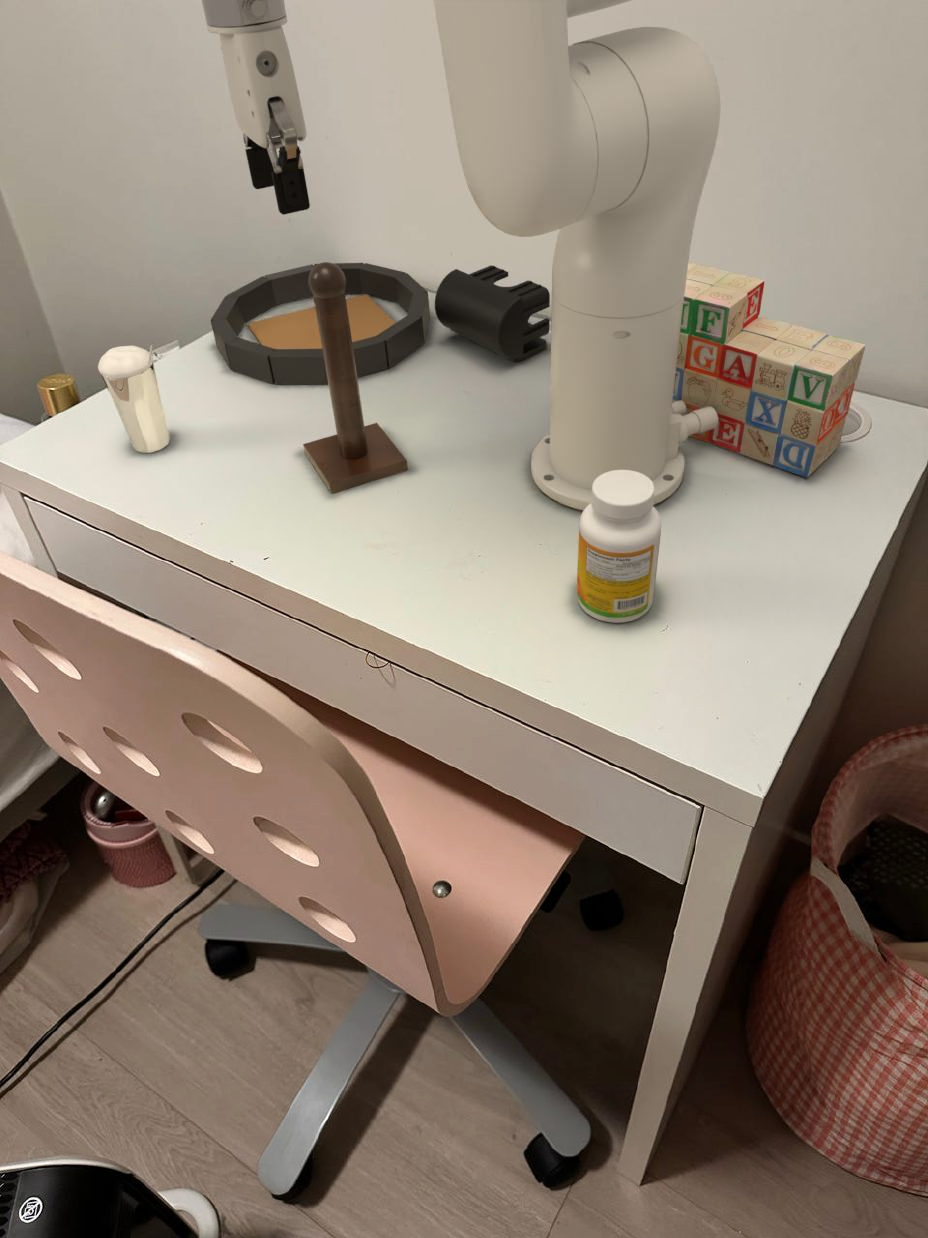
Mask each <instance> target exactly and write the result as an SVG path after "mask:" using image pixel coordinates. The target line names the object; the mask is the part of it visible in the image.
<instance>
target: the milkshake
mask: <svg viewBox="0 0 928 1238" xmlns="http://www.w3.org/2000/svg"><path fill="white" fill-rule="evenodd" d="M149 346H150V347H149V351H148V350H147V349H144V348H143V347H139V346H136V345H123V346H116V347H112V348H110V349H108V350H107V351H106V352H105V353H104V354H103V355H102V356H101V357H100V359H99V362H98V365H97V368H98V372H99V374H100V376H101V378H102V381H103V382H104V384H105V387H106V389H107V390H108V393H109V395H110V397H111V399H112V402H113V404H114V406H115V408H116V411H117V413H118V417H119V418H120V420H121V422H122V425H123V427H124V429H125V431H126V433H127V436H128V438H129V441H130V443H131V445H132V448H134V450H135V451H137V452H138V453H145V454H152V453H154V452H159V451H162V450H163V449H165V448H166V447H167V446H169V443H170V440H171V437H170V432H169V428H168V424H167V419H166V415H165V410H164V406H163V402H162V397H161V394H160V389H159V384H158V378H157V373H156V368H155V364H154V363H155V362H154V358H153V348H154V341H152V342H151V343H150V345H149Z"/></svg>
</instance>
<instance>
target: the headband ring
mask: <svg viewBox="0 0 928 1238" xmlns="http://www.w3.org/2000/svg"><path fill="white" fill-rule="evenodd" d="M332 263H333V262H332ZM318 264H319V263H314V264H313V263H311V264H307V265H304V266H299V267H294V268H292V269H286V270H281V271H278V272H274V273H273V272H272V273H269V274H265V275H262V276H260V277H257V279H255V280H253V281H251V282H249V283H247V284H245V285H243V286H242V287H239V288H238V289H236V290H234V291H232V292H230V293H228V294H226V295H225V296H224V297H223V299H222V301H220V304H219V306H218V307H217V308H216V310H215V312H214V313H213V315H212V316H211V318H210V325H211V329H212V333H213V337H214V340H215V344H216V349H217V350H218V351H219V353H220V354H221V356H222V358H223V359H224V361H225V363H226V364H227V366H228V367H229V369H230V370H231V371H232V372H235V373H238V374H241V375H243V376H247V377H250V378H253V379H255V380H258V381H262V382H265V383H268V384H271V385H276V386H277V385H279V386H280V385H328V379H327V373H326V367H325V361H324V355H323V349H274V348H271V347H267V346H264V345H261V344H260V343H259V342H258V343H257V342H254V341H251V340H248V339H244V338H242V337H239V334H240V332H241V330H242V328H243V326H244V325H245V324H246V323H247V322H249V321H251V320H252V319H254V318H256V317H258V316H259V315H261V314H263V313H265V312H266V311H268V310H270V309H272V308H274V307H276V306H278V305H281V304H286V303H290V302H295V301H299V300H302V299H307V298H312V297H313V293H312V292H311V290H310V288H309V282H308V281H309V275H310V272H311V270H312V269H313V268H314V267H315V266H316V265H318ZM333 264H335V265H337V266H338V267H339V268H340V269H341V270H342V271H343V273H344V275H345V279H346V287H345V295H365V294H367V295H368V296H369V297H373V298H376V299H381V300H383V301H387V302H391V303H396V304H398V305H399V306H400V307H401V308H402V309H403V310H404V311H405V312H406V313H407V314H406V316H404V317H402V318H401V319H399V320H398V321H397V322H395V324H393V325H392V326H390V327H389V328H387V329H386V330H384V331H383V332H381V333H380V334H378V335H377V336H374V337H370V338H366V339H362V340H358V341H355V342H352V344H353V351H354V358H355V365H356V372H357V378H360V377H364V376H368V375H371V374H375V373H378V372H383V371H386V370H388V368H389V369H391V368H392V367H394V366H395V365H396V364H398V363H400V362H401V361H402V360H404V359H405V358H406V357H408V356H410V355H411V354H413V352H415V351H417V350H419V348H421V347H423V346H424V344H425V343H426V339H427V334H428V330H429V327H430V323H431V322H430V321H431V313H430V301H429V300H430V299H429V293H428V290H427V289H425V287H423V286H422V285H421V284H420V283H419V282H418V281H417V280H416V279H414V278H413V277H412V276H411V275H410V274H409V273H408V272H405V271H402V270H397V269H393V268H389V267H388V268H387V267H384V266H380V265H376V264H371V263H367V262H365V263H364V262H337V263H335V262H334V263H333Z"/></svg>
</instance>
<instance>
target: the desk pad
mask: <svg viewBox="0 0 928 1238" xmlns="http://www.w3.org/2000/svg"><path fill="white" fill-rule="evenodd" d="M346 303H347V310H348V317H349V324H350V331H351V337H352V342H355V341H358V340H362V339H366V338H370V337H374V336H377V335H378V334H380V333H381V332H383V331H384V330H386V329H387V328H389V327H390V326H392V325H393V324H395V323H396V322H395V321H394V320H393V319H392V318H391V317H390V316H389V315H388V314H387V313H386V311H384V310H383V309H382V308H381V307H380V305H378V304H377V303H376V301H374V299H372V298H371V296H368V295H367V294H365V295H364V294H360V295H357V296H353V297H349V298H346ZM247 327H248V329H249V330H250V332H251V333H252V334H253V336H254V337H255V338H256V340H257V341H258V344H261V345H264V346H267V347H271V348H274V349H322V344H321V338H320V332H319V326H318V320H317V314H316V308H315V306H313V307H309V308H304V309H300V310H296V311H293V312H288V313H284V314H280V315H276V316H272V317H267V318H264V319H260V320H255V321H251V322H248V323H247Z"/></svg>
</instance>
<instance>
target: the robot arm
mask: <svg viewBox="0 0 928 1238" xmlns="http://www.w3.org/2000/svg"><path fill="white" fill-rule="evenodd" d="M630 1H632V0H433V5H434V11H435V18H436V24H437V30H438V37H439V43H440V48H441V55H442V61H443V67H444V73H445V80H446V86H447V93H448V98H449V104H450V111H451V116H452V117H451V118H452V122H453V128H454V135H455V141H456V146H457V151H458V155H459V160H460V164H461V168H462V172H463V175H464V180H465V183H466V184H467V187H468V190H469V193H470V195H471V197H472V200H473V201H474V203H475V205H476V207H477V208H478V209H479V211H480V212H481V214H482V215H483V217H484V219H486V220H487V221H488V222H489V223H490V224H491V225H492V226H493V227H494V228H496V229H498V230H499V231H501V232H503V233H504V234H507V235H509V236H514V237H521V238H525V237H526V238H528V237H531V238H532V237H537V236H542V235H546V234H548V233H551V232H555V231H558V233H557V236H556V242H555V246H554V247H555V248H554V252H553V258H552V267H551V268H552V269H551V304H550V305H551V306H550V307H551V308H550V311H551V315H550V316H551V317H550V323H551V324H550V401H549V403H550V405H549V407H550V408H549V409H550V410H549V414H550V417H549V433H548V434H547V435H545V436H544V437H543V438H541V439H540V440H539V441H538V443H537V444H536V446H535V447H534V449H533V451H532V453H531V458H530V459H531V461H530V466H531V467H530V470H531V476H532V479H533V481H534V483H535V485H536V486H537V487H538V489H540V490H541V492H542V493H544V494H545V495H546V496H548V497H549V498H550V499H552V500H554V501H555V502H557V503H560V504H561V505H564V506H566V507H570V508H573V509H575V510H579V511H584V509H585V508H586V507H587V506H588V505H589V504H590V503H591V494H592V485H593V482H594V481H595V479H596V478H597V477H599V476H600V475H602V474H604V473H606V472H609V471H614V470H631V471H636V472H639V473H641V474H644V475H645V476H647V477H648V478H649V479H650V480H651V481H652V482H653V484H654V488H655V491H654V505H657V504H659V503H661V502H663V501H665V500H666V499H667V498H669V497H670V496H672V495H673V494H674V492H676V490H677V489H679V487H680V486H681V483H682V482H683V479H684V472H685V457H684V454H683V451H682V449H681V448H680V447H679V445H681V444H683V443H685V442H686V441H687V440H688V437H690V435H692V434H699V433H702V432H705V431H708V430H711V429H714V428H716V427H717V425H718V415H717V413H716V411H715V409H714V408H713V407H710V406H708V407H704V408H701V409H698V410H695V411H692V412H690V413H689V414H686V405H685V403H684V402H683V401H681V400H679V401H675V402H672V400H673V391H674V382H675V373H676V364H677V355H678V346H679V337H680V329H681V320H682V311H683V302H684V294H685V287H686V278H687V270H688V262H689V261H690V254H691V245H692V240H693V233H694V228H695V222H696V218H697V213H698V209H699V205H700V201H701V198H702V194H703V190H704V187H705V184H706V181H707V177H708V174H709V170H710V167H711V164H712V160H713V156H714V152H715V149H716V145H717V141H718V135H719V130H720V121H721V92H720V91H721V90H720V86H719V82H718V78H717V74H716V72H715V69H714V67H713V63H712V62H711V61H710V58H709V56H708V55H707V54H706V52H705V51H704V50H703V49H702V48H701V46H700V45H699V44H698V43H697V42H696V41H694V40H693V39H692V38H690V37H689V36H688V35H686V34H684V33H682V32H680V31H677V30H676V29H670V28H667V27H663V26H662V27H660V26H659V27H658V26H640V27H633V28H627V29H623V30H619V31H615V32H611V33H607V34H603V35H600V36H596V37H593V38H589V39H585V40H582V41H578V42H575V43H572V44H571V45H569V34H568V33H569V31H568V30H569V29H568V19H570V18H573V17H577V16H581V15H585V14H589V13H592V12H596V11H597V12H598V11H601V10H605V9H608V8H611V7H615V6H618V5H621V4H624V3H627V2H630ZM201 3H202V4H201V5H202V8H203V12H204V16H205V21H206V28H207V31H208V33H211V34H218V35H219V41H220V49H221V52H222V53H221V54H222V59H223V65H224V70H225V74H226V79H227V85H228V89H229V95H230V100H231V104H232V108H233V112H234V116H235V119H236V122H237V126H238V127H239V129H240V131H241V132H242V138H243V144H244V146H245V149H244V151H245V155H246V160H247V165H248V169H249V175H250V180H251V184H252V187H253V188H254V189H255V190H261V189H265V188H270V187H273V188H274V189H273V190H274V194H275V199H276V205H277V209H278V212H279V213H280V214H281V215H288V214H293V213H298V212H303V211H306V210H307V211H308V210H309V209H310V207H311V204H310V203H311V202H310V198H309V191H308V187H307V181H306V180H307V179H306V174H305V169H304V168H305V167H304V162H303V158H302V156H301V153H302V151H301V149H300V146H299V145H298V141H299V142H304V141H305V139H306V138H307V129H306V124H305V120H304V119H305V118H304V112H303V108H302V104H301V103H302V102H301V97H300V94H299V88H298V84H297V80H296V76H295V75H296V74H295V70H294V65H293V60H292V56H291V54H290V49H289V46H288V42H287V39H286V38H287V37H286V35H285V31H284V29H283V25H286V24H287V23H288V18H287V17H288V16H287V10H286V5H285V4H286V3H285V0H201ZM277 150H278V152H277ZM689 263H690V262H689ZM685 414H686V415H685Z"/></svg>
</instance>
